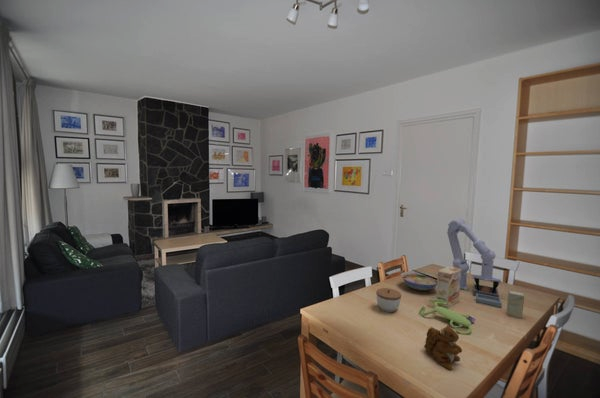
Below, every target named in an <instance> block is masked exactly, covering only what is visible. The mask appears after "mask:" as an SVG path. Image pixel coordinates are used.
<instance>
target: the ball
mask: <svg viewBox="0 0 600 398" xmlns="http://www.w3.org/2000/svg"><path fill="white" fill-rule="evenodd" d="M483 286H484V287H482V288H481V291H482V292H488V293H490V289H489V288H488V287H485V286H486V285H483Z"/></svg>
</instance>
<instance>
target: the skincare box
mask: <svg viewBox="0 0 600 398" xmlns="http://www.w3.org/2000/svg"><path fill="white" fill-rule="evenodd" d="M524 302H525V294H524V293H523V292H518V291H512V290H508V293H507V302H506V311H505V313H506V315H507V316H510V317H514V318H518V319H523V311H524V304H525V303H524Z"/></svg>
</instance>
